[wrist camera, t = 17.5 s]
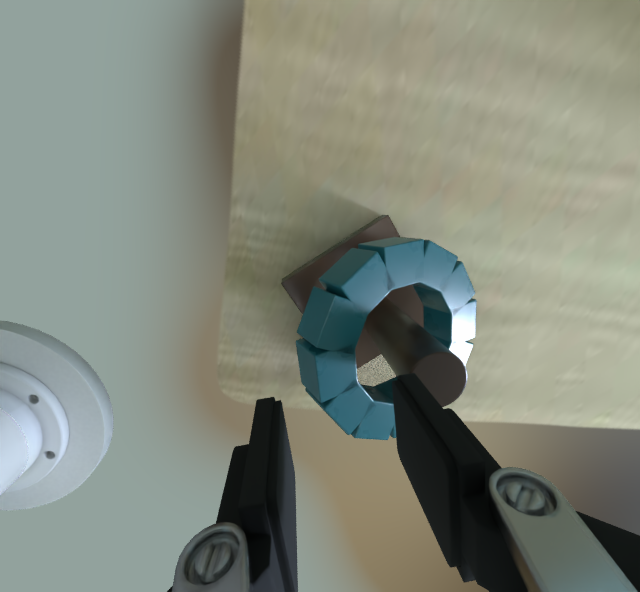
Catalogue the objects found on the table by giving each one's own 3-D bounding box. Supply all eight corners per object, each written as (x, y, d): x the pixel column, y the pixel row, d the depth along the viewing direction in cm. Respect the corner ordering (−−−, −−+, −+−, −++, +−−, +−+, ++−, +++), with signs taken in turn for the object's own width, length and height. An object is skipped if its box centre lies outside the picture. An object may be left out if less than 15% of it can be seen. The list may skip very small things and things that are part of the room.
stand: (341, 367, 27) (392, 514, 14) (281, 279, 24) (272, 353, 11) (434, 310, 26) (579, 405, 13) (382, 214, 24) (495, 214, 11)
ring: (362, 449, 18) (385, 473, 17) (254, 338, 14) (270, 355, 12) (466, 329, 21) (496, 339, 19) (403, 198, 16) (435, 195, 14)
